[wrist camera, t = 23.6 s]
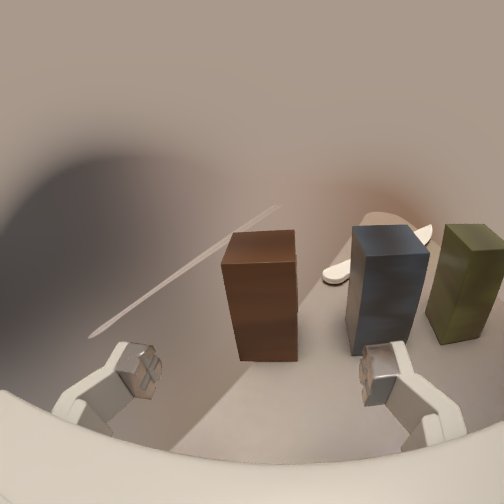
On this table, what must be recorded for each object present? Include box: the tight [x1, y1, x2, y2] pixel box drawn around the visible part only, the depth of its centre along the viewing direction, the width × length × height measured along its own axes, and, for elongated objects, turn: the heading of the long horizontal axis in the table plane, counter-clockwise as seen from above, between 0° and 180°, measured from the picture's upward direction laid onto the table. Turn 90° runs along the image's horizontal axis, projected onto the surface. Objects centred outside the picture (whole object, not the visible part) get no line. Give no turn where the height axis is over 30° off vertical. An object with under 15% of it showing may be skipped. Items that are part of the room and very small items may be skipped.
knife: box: [323, 225, 432, 284], centre depth 37 cm, size 26×4×1 cm, turn 115°
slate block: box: [345, 225, 430, 356], centre depth 22 cm, size 5×5×10 cm
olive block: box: [425, 224, 504, 345], centre depth 21 cm, size 5×5×10 cm
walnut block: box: [221, 230, 298, 361], centre depth 24 cm, size 5×5×10 cm
